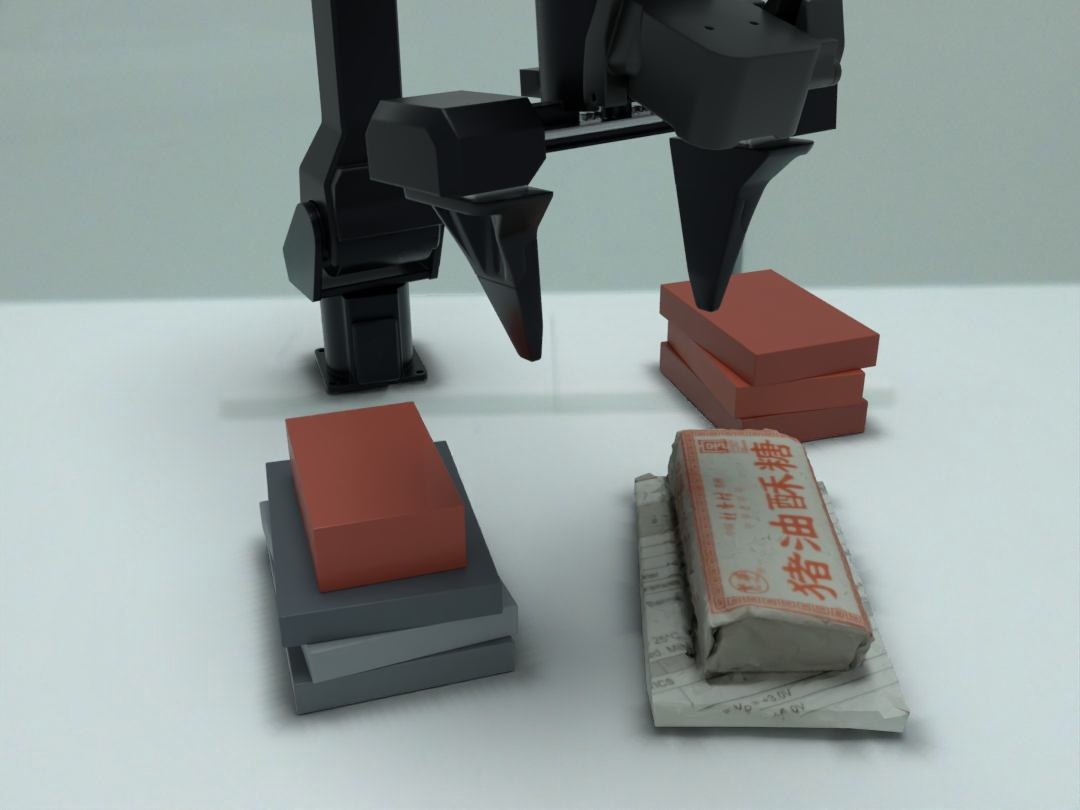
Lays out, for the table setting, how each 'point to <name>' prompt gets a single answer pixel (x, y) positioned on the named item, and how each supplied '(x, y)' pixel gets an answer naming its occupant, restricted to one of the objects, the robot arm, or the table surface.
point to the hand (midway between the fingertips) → (623, 333)
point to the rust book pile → (768, 357)
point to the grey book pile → (383, 614)
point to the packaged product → (754, 593)
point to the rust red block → (374, 496)
